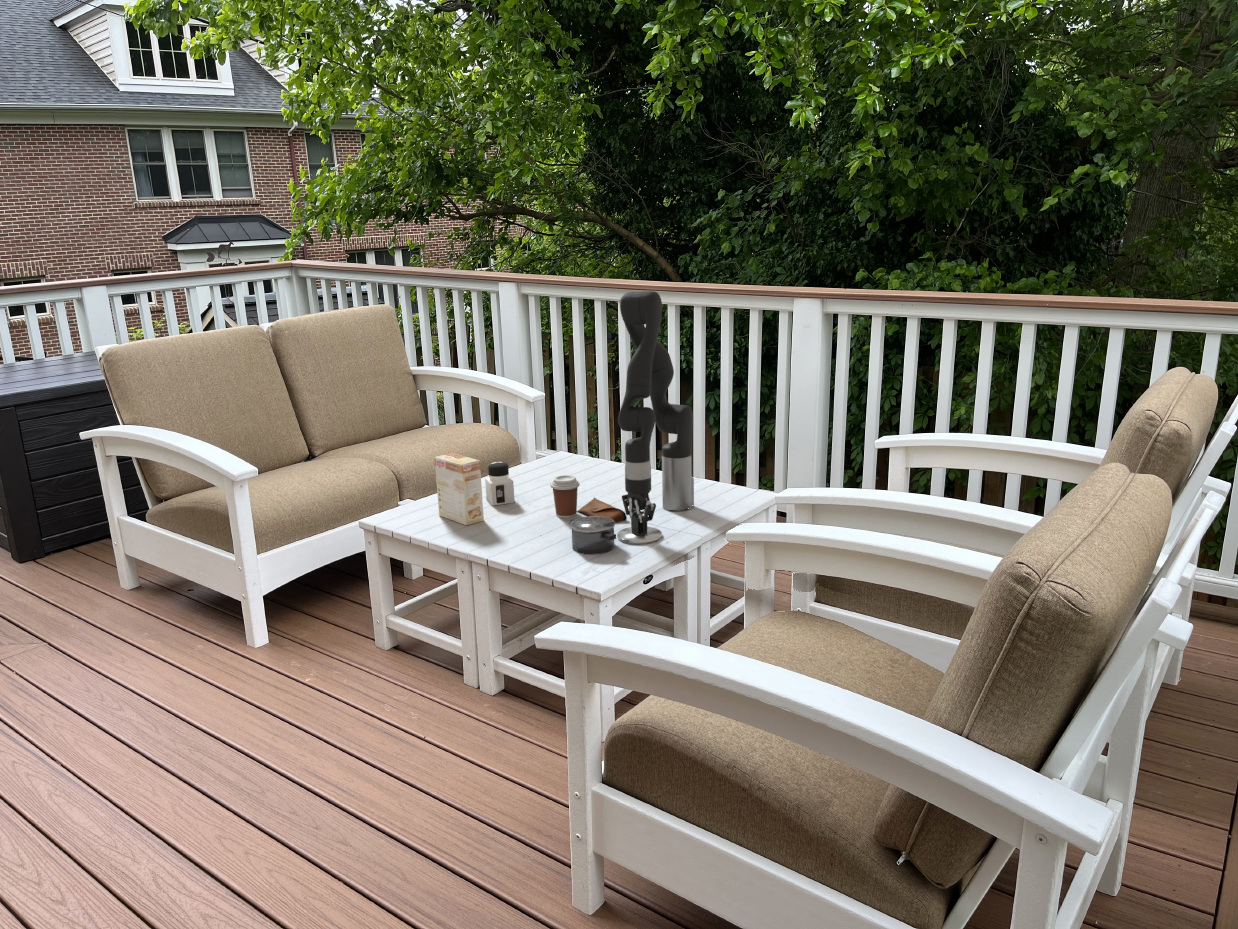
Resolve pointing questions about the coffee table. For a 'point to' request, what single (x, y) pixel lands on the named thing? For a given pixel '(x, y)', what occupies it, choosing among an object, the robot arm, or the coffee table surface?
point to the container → (499, 484)
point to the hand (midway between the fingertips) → (639, 531)
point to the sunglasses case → (602, 510)
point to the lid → (638, 534)
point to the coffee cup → (565, 495)
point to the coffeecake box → (459, 488)
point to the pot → (592, 534)
